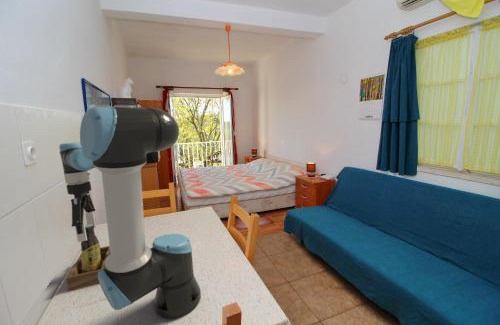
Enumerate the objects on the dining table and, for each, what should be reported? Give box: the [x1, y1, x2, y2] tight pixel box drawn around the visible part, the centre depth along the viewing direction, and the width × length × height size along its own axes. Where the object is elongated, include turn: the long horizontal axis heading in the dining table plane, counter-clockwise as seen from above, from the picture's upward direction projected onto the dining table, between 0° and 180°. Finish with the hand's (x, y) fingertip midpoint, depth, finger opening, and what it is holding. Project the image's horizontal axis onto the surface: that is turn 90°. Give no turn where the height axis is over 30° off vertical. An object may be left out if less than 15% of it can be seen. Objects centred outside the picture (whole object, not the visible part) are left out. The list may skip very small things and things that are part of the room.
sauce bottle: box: [80, 223, 102, 273], centre depth 95 cm, size 6×6×20 cm
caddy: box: [66, 245, 110, 292], centre depth 98 cm, size 20×22×6 cm
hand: (87, 233), depth 93 cm, fingers open, 13 cm apart
